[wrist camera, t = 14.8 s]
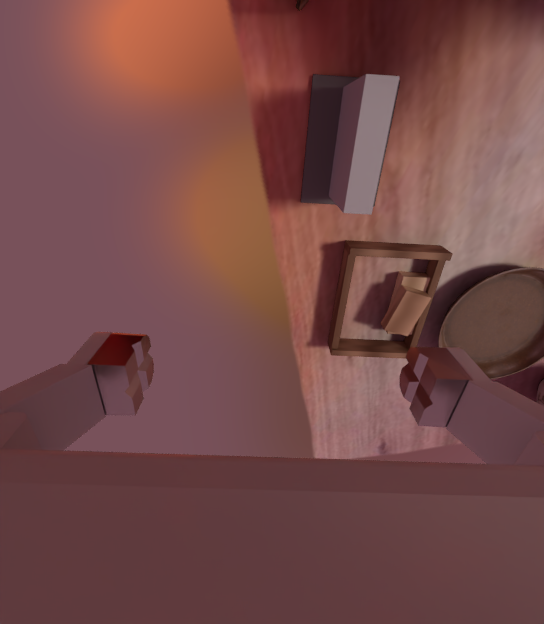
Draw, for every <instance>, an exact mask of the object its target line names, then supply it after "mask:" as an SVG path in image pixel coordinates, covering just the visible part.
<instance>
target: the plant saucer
mask: <svg viewBox="0 0 544 624" xmlns="http://www.w3.org/2000/svg"><path fill="white" fill-rule="evenodd" d="M438 345H439V348H443V347H458V348H461V349H463V350H464V351H465V352H466V353H467V354H468V355H469V356H470V358H471V359H472V360H473V361H474V362H475V363H476V364H477V365H478V367H479V368H480V369H481V370H482V371H483V372H484V373H485V374H486V375H487V377H488V378H489V379H496V378H502V377H505V376H509V375H512V374H515V373H517V372H520V371H522V370H524V369H527V368H528V367H530V366H532V365H534V364H535V363H537V362H538V361H540V360H541V359H543V358H544V269H543V268H518V269H512V270H507V271H503V272H500V273H497V274H494V275H492V276H489V277H487V278H485V279H483V280H481V281H479V282H478V283H476V284H475V285H473V286H471V287H470V288H469V289H468V290H466V291H465V292H464V293H463V294H462V295H461V296H460V297H459V298H458V299H457V300H456V301H455V302H454V303H453V304H452V306H451V307H450V309H449V310H448V312H447V313H446V315H445V317H444V320H443V322H442V325H441V328H440V332H439V341H438Z"/></svg>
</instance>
